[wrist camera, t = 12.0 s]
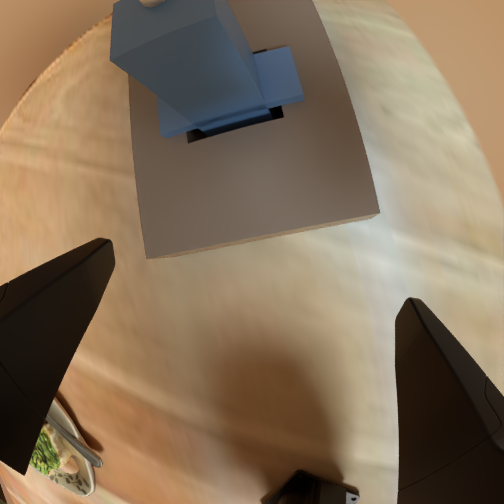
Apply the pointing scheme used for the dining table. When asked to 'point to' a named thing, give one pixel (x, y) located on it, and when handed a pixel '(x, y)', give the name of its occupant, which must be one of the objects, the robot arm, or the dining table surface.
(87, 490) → the salad plate
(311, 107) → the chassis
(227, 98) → the servo
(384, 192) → the dining table surface
